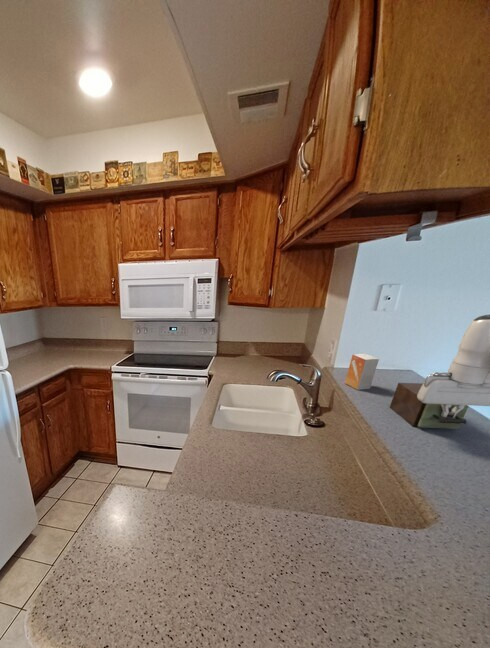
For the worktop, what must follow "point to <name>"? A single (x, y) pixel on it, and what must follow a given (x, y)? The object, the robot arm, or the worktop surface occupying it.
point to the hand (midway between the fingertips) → (447, 416)
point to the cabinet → (407, 402)
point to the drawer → (440, 417)
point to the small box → (361, 371)
